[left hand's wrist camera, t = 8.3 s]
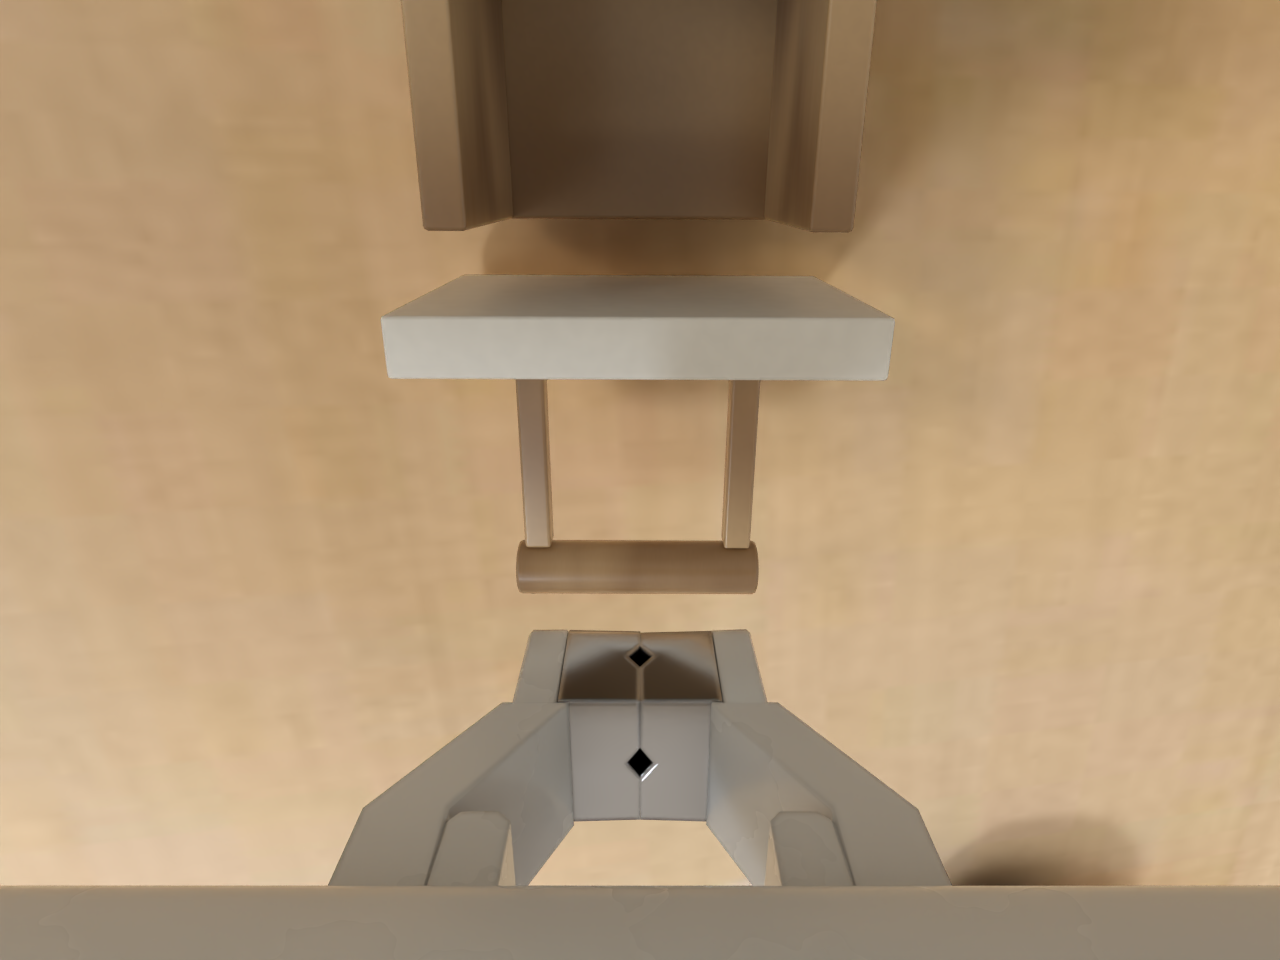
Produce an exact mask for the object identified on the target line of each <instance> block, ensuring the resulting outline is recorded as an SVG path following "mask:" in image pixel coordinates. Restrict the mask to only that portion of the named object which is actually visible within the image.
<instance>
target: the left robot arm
mask: <svg viewBox="0 0 1280 960" xmlns="http://www.w3.org/2000/svg"><path fill="white" fill-rule="evenodd" d="M637 819H641V820H676V821H706V825H707V826H708V827H709V829H710V830H711V831H712V833H713V834H714V835H715V837H716V838H717V839H718V841H719V842H720V843H721V845H722V846H723V847H724V848H725V850H726V851H727V852H728V854H729V855H730V856H731V858H732V859H733V860H734V862H735V863H736V864H737V866H738V867H739V868H740V870H741V871H742V872H743V874H744V875H745V876H746V877H747V879H748V880H749V881H750V883H751V884H752V885H753V886H528V885H529V883H530V882H531V881H532V879H533V878H534V877H535V875H536V874H537V873H538V871H539V870H540V869H541V868H542V866H543V865H544V864H545V862H546V861H547V860H548V858H549V857H550V856H551V854H552V853H553V852H554V850H555V849H556V848H557V847H558V845H559V844H560V843H561V841H562V840H563V839H564V837H565V836H566V835H567V833H568V832H569V831H570V830H571V828H572V827H573V826H574V821H602V820H637ZM0 960H1280V886H952V884H951V882H950V880H949V878H948V875H947V873H946V871H945V869H944V866H943V864H942V862H941V860H940V857H939V855H938V853H937V851H936V848H935V846H934V844H933V842H932V839H931V837H930V835H929V833H928V830H927V828H926V826H925V824H924V822H923V819H922V817H921V815H920V813H919V810H918V809H917V808H916V807H914V806H913V805H912V804H910V803H909V802H908V801H906V800H905V799H904V798H903V797H901V796H900V795H899V794H897V793H896V792H895V791H893V790H892V789H891V788H889V787H888V786H887V785H885V784H884V783H883V782H882V781H880V780H879V779H878V778H876V777H875V776H874V775H872V774H871V773H870V772H868V771H867V770H866V769H864V768H863V767H862V766H861V765H859V764H858V763H857V762H855V761H854V760H853V759H851V758H850V757H849V756H847V755H846V754H845V753H843V752H842V751H841V750H840V749H838V748H837V747H836V746H834V745H833V744H832V743H830V742H829V741H828V740H826V739H825V738H824V737H822V736H821V735H820V734H819V733H817V732H816V731H815V730H813V729H812V728H811V727H809V726H808V725H807V724H805V723H804V722H803V721H801V720H800V719H799V718H798V717H796V716H795V715H794V714H792V713H791V712H790V711H788V710H787V709H786V708H784V707H783V706H782V705H780V704H779V703H767V699H766V695H765V691H764V687H763V683H762V679H761V675H760V671H759V667H758V663H757V659H756V655H755V651H754V647H753V643H752V639H751V635H750V632H748V631H747V630H746V629H744V630H717V631H691V632H651V633H640V632H636V631H586V630H570V631H569V632H568V631H567V630H533V631H532V633H531V634H530V635H529V639H528V643H527V647H526V651H525V655H524V659H523V663H522V667H521V671H520V675H519V679H518V683H517V687H516V691H515V695H514V699H513V703H501V704H500V705H498V706H497V707H496V708H494V709H493V710H492V711H490V712H489V713H488V714H486V715H485V716H484V717H482V718H481V719H480V720H478V721H477V722H476V723H475V724H473V725H472V726H471V727H469V728H468V729H467V730H465V731H464V732H463V733H461V734H460V735H459V736H457V737H456V738H455V739H453V740H452V741H451V742H449V743H448V744H447V745H445V746H444V747H443V748H442V749H440V750H439V751H438V752H436V753H435V754H434V755H432V756H431V757H430V758H428V759H427V760H426V761H424V762H423V763H422V764H420V765H419V766H418V767H416V768H415V769H414V770H413V771H411V772H410V773H409V774H407V775H406V776H405V777H403V778H402V779H401V780H399V781H398V782H397V783H395V784H394V785H393V786H391V787H390V788H389V789H387V790H386V791H385V792H383V793H382V794H381V795H380V796H378V797H377V798H376V799H374V800H373V801H372V802H370V803H369V804H368V805H366V806H365V807H364V808H363V809H362V811H361V813H360V816H359V818H358V820H357V822H356V825H355V827H354V829H353V831H352V833H351V836H350V838H349V840H348V842H347V844H346V847H345V849H344V851H343V853H342V855H341V858H340V860H339V862H338V864H337V866H336V869H335V871H334V873H333V875H332V878H331V880H330V882H329V884H328V886H0Z"/></svg>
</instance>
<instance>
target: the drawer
mask: <svg viewBox="0 0 1280 960" xmlns="http://www.w3.org/2000/svg"><path fill="white" fill-rule="evenodd" d="M876 4H877V0H401V6H402V17H403V27H404V37H405V47H406V57H407V67H408V77H409V87H410V98H411V108H412V118H413V128H414V138H415V148H416V158H417V169H418V179H419V189H420V199H421V209H422V219H423V226H424V229H426V230H428V231H464V230H468V229H472V228H476V227H479V226H483V225H487V224H491V223H495V222H499V221H503V220H507V219H510V218H553V219H767V220H770V221H774V222H778V223H781V224H785V225H789V226H792V227H796V228H800V229H804V230H807V231H811V232H850V231H852V229H853V225H854V215H855V206H856V196H857V187H858V177H859V167H860V158H861V148H862V139H863V129H864V119H865V110H866V100H867V91H868V81H869V71H870V62H871V52H872V43H873V33H874V23H875V14H876ZM894 325H895V320H894V318H892V317H890V316H888V315H886V314H884V313H883V312H881V311H879V310H877V309H875V308H873V307H871V306H869V305H867V304H865V303H864V302H862V301H860V300H858V299H856V298H854V297H852V296H850V295H848V294H846V293H844V292H843V291H841V290H839V289H837V288H835V287H833V286H831V285H829V284H827V283H825V282H824V281H822V280H820V279H818V278H816V277H814V276H670V275H462V276H461V277H459V278H457V279H455V280H453V281H451V282H449V283H447V284H445V285H443V286H441V287H439V288H437V289H435V290H433V291H431V292H429V293H427V294H425V295H423V296H421V297H419V298H417V299H415V300H413V301H411V302H409V303H407V304H405V305H403V306H401V307H399V308H398V309H396V310H394V311H392V312H390V313H388V314H386V315H384V316H382V317H381V326H382V334H383V342H384V350H385V358H386V366H387V374H388V377H389V378H392V379H516V393H517V410H518V427H519V443H520V460H521V477H522V494H523V511H524V528H525V540H523V541H521V542H520V544H519V547H518V552H517V562H516V578H517V586H518V589H519V591H520V592H521V593H594V594H753V593H755V592H756V589H757V585H758V553H757V548H756V545H755V543H754V542H753V541H750V530H751V515H752V500H753V484H754V469H755V453H756V438H757V423H758V407H759V392H760V380H863V381H883V380H886V379H887V377H888V372H889V364H890V356H891V348H892V341H893V333H894ZM547 379H595V380H729V396H728V416H727V437H726V457H725V477H724V498H723V518H722V541H645V540H553V514H552V491H551V468H550V445H549V423H548V400H547Z"/></svg>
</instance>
